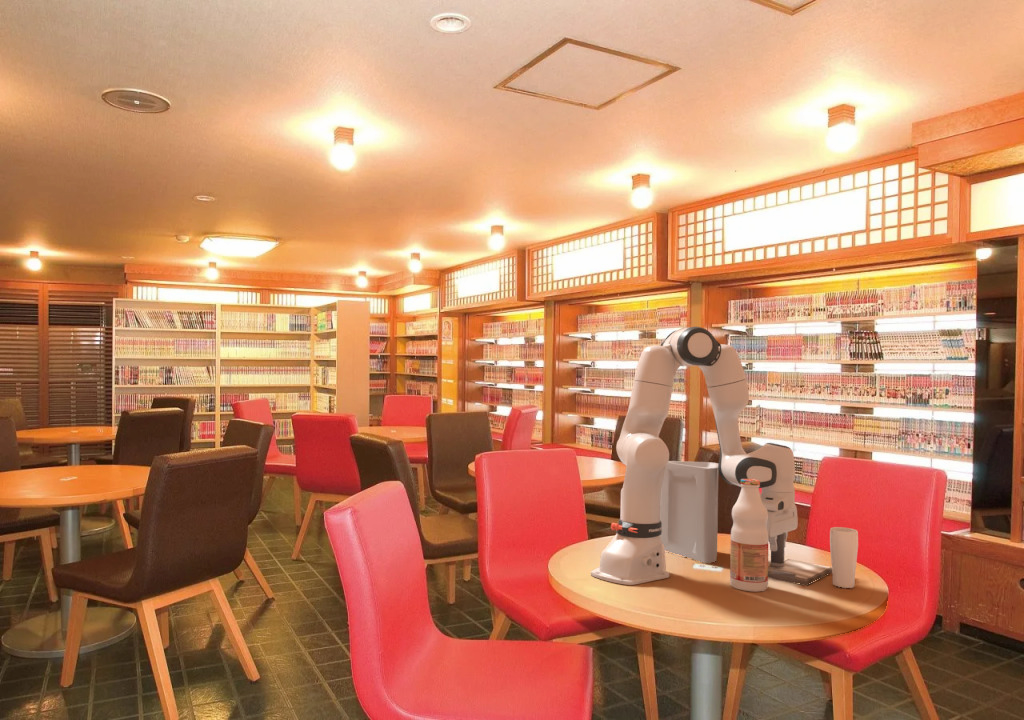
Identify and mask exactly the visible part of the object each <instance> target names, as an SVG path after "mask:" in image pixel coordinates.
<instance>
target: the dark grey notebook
mask: <svg viewBox="0 0 1024 720" xmlns="http://www.w3.org/2000/svg"><path fill="white" fill-rule="evenodd" d="M830 573H831V574H832V566H825V565H822V564H821V565H820V564H815V563H812V562H811V563H810V562H806V561H802V560H801V561H800V560H796V559H791V558H788V559H786V560H785V559H784V567H774V566H771V565H770V566H768V579H769V578H770V579H774V580H779V581H784V582H787V581H788V583H792V582H795V583H794V584H796V583H800V584H799V585H801V584H804V585H803V586H805V585H807V584H809V583H811V582H813V581H815V580H817V579H819V578H821V577H823V578H825V577H826V576H825V575H827V574H829V575H831V574H830ZM824 576H825V577H824ZM827 576H828V575H827ZM821 579H822V578H821ZM819 580H820V579H819ZM817 581H818V580H817ZM815 582H816V581H815ZM813 583H814V582H813ZM811 584H812V583H811ZM809 585H810V584H809ZM807 586H808V585H807Z"/></svg>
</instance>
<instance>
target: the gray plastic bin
mask: <svg viewBox="0 0 1024 720" xmlns="http://www.w3.org/2000/svg"><path fill="white" fill-rule="evenodd" d="M718 464H719V462H718V463H717V462H712V461H711V462H708V461H681V460H679V461H678V460H669V461H668V463H667V465H666V467H665V473H664V478H663V483H662V488H661V500H660V521H661V522H662V534H661V535H660V538H661V541H662V543H663V545H664V548H665V550H666V551H669V552H672V553H675V554H679V555H682V556H685V557H688V558H691V559H694V560H697V561H700V562H699V563H701V562H703V563H702V564H704V563H708V564H712V563H711V562H714V563H716V562H717V558H718V557H717V556H718V524H719V523H718V518H719V517H718V516H719V512H718V511H719V470H718ZM694 560H693V561H694ZM697 561H696V562H697ZM715 561H716V562H715Z"/></svg>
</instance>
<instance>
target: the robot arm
mask: <svg viewBox="0 0 1024 720" xmlns="http://www.w3.org/2000/svg"><path fill="white" fill-rule="evenodd" d="M680 367H698V368H699V369H700V370H701V372H702V374H703V376H704V379H705V385H706V389H707V393H708V397H709V401H710V404H711V408H712V412H713V415H714V416H713V417H714V422H715V424H714V425H715V428H716V434H717V439H718V446H719V458H718V475H719V476H720V478H721V479H722V480H723V481H724V482H725V483H727V484H728V485H732V486H738V487H740V488H742V486H741V483H740V481H741V479H755V480H759V481H760V487H759V489H761V493H760V496H761V499H762V502H763V504H764V506H765V507H766V509H767V511H768V520H767V523H766V528H767V531H768V545H769V550H770V552H771V551H777V550H778V544H777V541H776V539H777V536H778V535H781V534H783V533H785V539H784V549H785V548H786V544H787V543H786V542H787V538H788V536H789V535H788V534H789V533H788V532H792V531H794V530H797V528H798V524H799V523H798V522H799V521H798V520H799V519H798V509H797V505H796V503H795V501H796V499H795V498H796V490H795V486H794V482H795V481H794V480H795V477H796V467H795V457H794V451H793V450H792V448H791V447H789V446H786V445H783V444H778V443H774V442H767V443H766V442H765V444H763V445H762V446H761V447H760V448H757V449H756V450H753V451H751V452H748V453H747V452H746V451H745V450H744V448H743V445H742V439H741V433H740V429H739V427H740V426H739V416H740V414H742V413H741V412H743V411H744V410H745V408H746V407H747V406H748V404H749V401H750V393H749V391H750V390H749V385H748V381H747V377H746V373H745V370H744V367H743V364H742V361H741V359H740V357H739V355H738V353H737V350H736V349H735V348H734V346H732V345H730V344H724V343H723V344H722V343H720V342H719V341H718V340H717V339H716V338H715V336H714V335H713V334H712V333H711V332H710V331H709V330H708V329H706V328H704V327H701V326H691V327H689V326H685V327H682V328H679V329H676V330H673V331H672V332H671V333H669V334H668V335H667V337H665V338H664V340H663V341H662V342H661V344H652V345H649V346H646V347H645V348H644V349H643V350H642V352H641V354H640V356H639V360H638V362H637V365H636V367H635V373H634V377H633V382H632V383H633V384H632V388H631V393H630V400H629V405H628V408H627V413H626V415H625V419H624V421H623V424H622V428H621V431H620V434H619V435H620V436H619V437H618V440H617V441H616V447H615V449H616V450H615V451H616V454H617V456H618V458H619V460H620V462H621V463H622V464H623V465H625V472H624V474H625V475H624V478H623V485H622V488H621V490H620V512H619V513H620V518H619V519H618V521H617V523H615V522H612V523H611V524H610V529H611V530H612V531H615V532H616V534H615V535H614V537H612V539H611V540H610V541H609V543H608V544H607V546H606V547H604V549H603V550H602V552H601V554H600V560H599V566H598V567H596V568H595V569H593V570H591V571H590V575H591V576H593V577H594V578H596V579H600V580H603V581H606V582H610V583H615V584H620V585H627V586H634V585H638V584H644V583H645V584H646V583H649V582H654V581H657V580H663V579H668V578H670V572H669V571H667V568H666V567H667V566H666V565H667V564H666V563H667V562H666V552H665V548H664V545H663V543H662V541H661V538H660V535H661V534H662V522H661V521H660V507H661V488H662V483H663V478H664V473H665V467H666V465H667V463H668V461H670V451H669V448H668V446H667V445H666V443H665V442H664V441H663V439H662V438H661V437H659V436H660V433H661V430H662V428H663V425H664V422H665V420H666V418H667V417H668V415H669V411H670V405H671V400H672V399H671V398H672V394H673V393H672V392H673V387H674V381H675V376H676V373H677V371H678V369H680Z"/></svg>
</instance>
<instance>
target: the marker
mask: <svg viewBox="0 0 1024 720" xmlns="http://www.w3.org/2000/svg"><path fill="white" fill-rule="evenodd" d="M784 539H785V533H783V534H781V535H778V536H777V539H776V541H777V544H778V550H777V551H771V550H770V567H771V566H774V567H784V561H785V548H784Z"/></svg>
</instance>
